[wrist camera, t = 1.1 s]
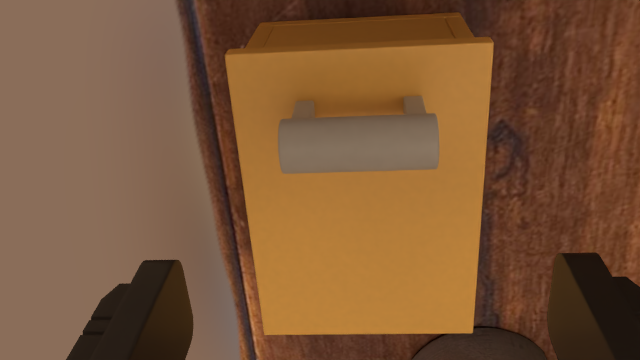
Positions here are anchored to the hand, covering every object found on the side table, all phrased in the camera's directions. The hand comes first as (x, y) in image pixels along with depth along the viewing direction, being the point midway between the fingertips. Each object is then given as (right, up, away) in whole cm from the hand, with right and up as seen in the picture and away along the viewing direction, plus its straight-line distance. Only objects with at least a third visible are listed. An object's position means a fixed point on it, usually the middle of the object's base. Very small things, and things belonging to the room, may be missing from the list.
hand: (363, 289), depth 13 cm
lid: (+1, +1, +12) cm, 12 cm away
